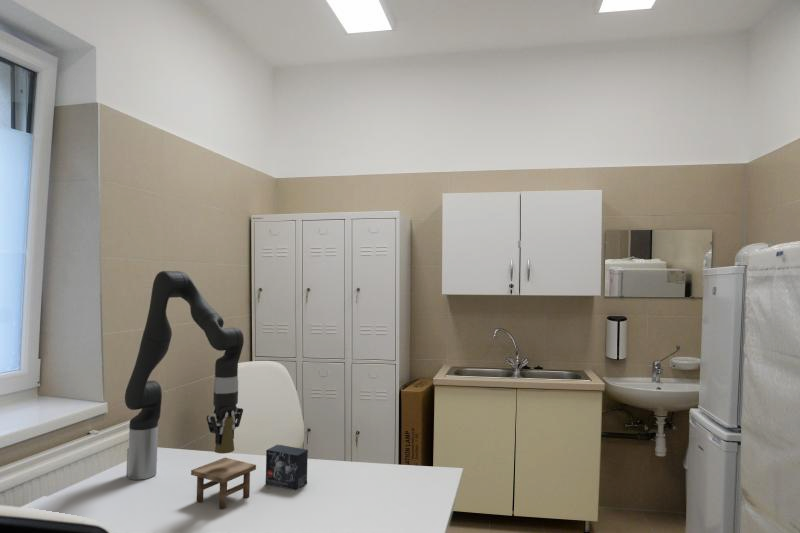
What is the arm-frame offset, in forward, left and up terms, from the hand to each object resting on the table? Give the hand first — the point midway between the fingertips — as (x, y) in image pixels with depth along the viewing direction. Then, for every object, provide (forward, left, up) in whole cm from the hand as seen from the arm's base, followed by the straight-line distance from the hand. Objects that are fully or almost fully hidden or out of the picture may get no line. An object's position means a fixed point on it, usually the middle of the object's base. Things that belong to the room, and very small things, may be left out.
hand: (224, 443), depth 170 cm
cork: (0, 0, -2) cm, 2 cm away
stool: (0, 0, -18) cm, 18 cm away
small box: (+9, +20, -18) cm, 28 cm away
